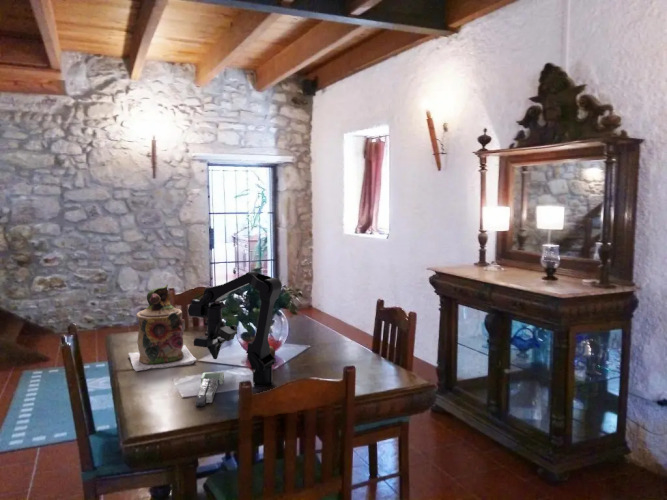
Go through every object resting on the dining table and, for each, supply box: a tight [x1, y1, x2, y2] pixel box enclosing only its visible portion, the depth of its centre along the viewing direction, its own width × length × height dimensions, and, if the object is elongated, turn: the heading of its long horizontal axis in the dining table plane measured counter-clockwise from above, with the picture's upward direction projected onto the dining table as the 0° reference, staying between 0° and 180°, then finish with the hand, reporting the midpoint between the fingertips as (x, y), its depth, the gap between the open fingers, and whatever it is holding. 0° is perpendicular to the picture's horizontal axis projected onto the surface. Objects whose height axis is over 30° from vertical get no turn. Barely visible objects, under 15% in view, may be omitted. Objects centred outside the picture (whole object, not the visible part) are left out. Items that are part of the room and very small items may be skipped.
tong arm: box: [195, 379, 210, 407], centre depth 183 cm, size 3×20×3 cm, turn 7°
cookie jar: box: [128, 284, 197, 372], centre depth 222 cm, size 25×25×32 cm
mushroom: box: [270, 345, 276, 358], centre depth 224 cm, size 8×8×6 cm
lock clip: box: [200, 371, 225, 386], centre depth 197 cm, size 8×6×2 cm
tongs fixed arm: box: [205, 379, 219, 404], centre depth 185 cm, size 2×16×2 cm, turn 6°
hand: (215, 358), depth 204 cm, fingers closed
